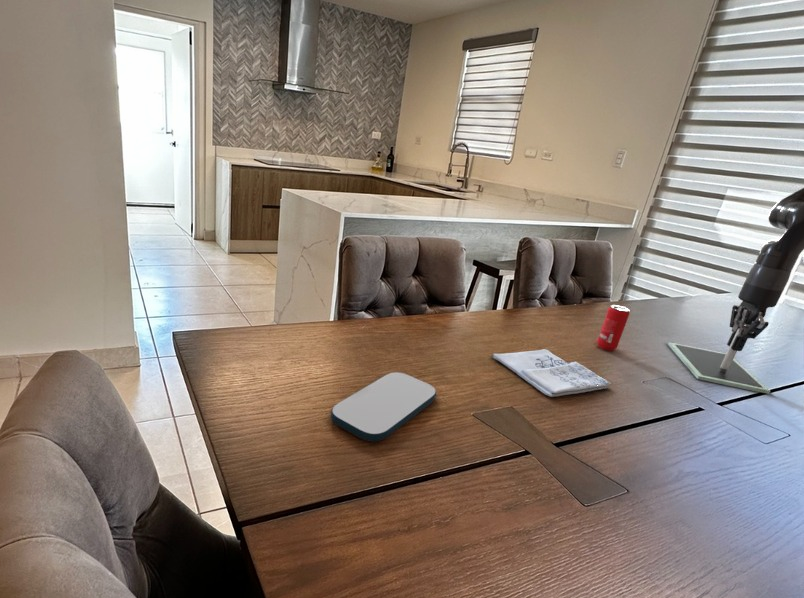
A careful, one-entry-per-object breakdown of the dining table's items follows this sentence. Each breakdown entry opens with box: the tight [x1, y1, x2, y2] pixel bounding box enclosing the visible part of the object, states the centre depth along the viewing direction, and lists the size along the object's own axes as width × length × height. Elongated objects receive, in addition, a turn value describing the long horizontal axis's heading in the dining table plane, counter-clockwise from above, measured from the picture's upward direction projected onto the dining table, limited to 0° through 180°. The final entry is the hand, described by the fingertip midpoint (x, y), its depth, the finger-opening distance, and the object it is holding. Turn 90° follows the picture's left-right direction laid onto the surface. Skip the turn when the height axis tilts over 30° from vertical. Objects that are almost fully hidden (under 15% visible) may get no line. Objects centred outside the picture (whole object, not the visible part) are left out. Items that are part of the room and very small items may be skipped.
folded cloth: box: [492, 348, 612, 398], centre depth 112 cm, size 19×20×2 cm
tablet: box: [667, 341, 771, 395], centre depth 128 cm, size 16×23×1 cm
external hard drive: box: [330, 371, 437, 443], centre depth 90 cm, size 24×12×2 cm, turn 143°
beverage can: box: [596, 304, 630, 352], centre depth 130 cm, size 5×5×12 cm
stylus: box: [720, 328, 745, 373], centre depth 121 cm, size 2×2×12 cm
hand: (733, 348), depth 121 cm, fingers closed on stylus, 2 cm apart
